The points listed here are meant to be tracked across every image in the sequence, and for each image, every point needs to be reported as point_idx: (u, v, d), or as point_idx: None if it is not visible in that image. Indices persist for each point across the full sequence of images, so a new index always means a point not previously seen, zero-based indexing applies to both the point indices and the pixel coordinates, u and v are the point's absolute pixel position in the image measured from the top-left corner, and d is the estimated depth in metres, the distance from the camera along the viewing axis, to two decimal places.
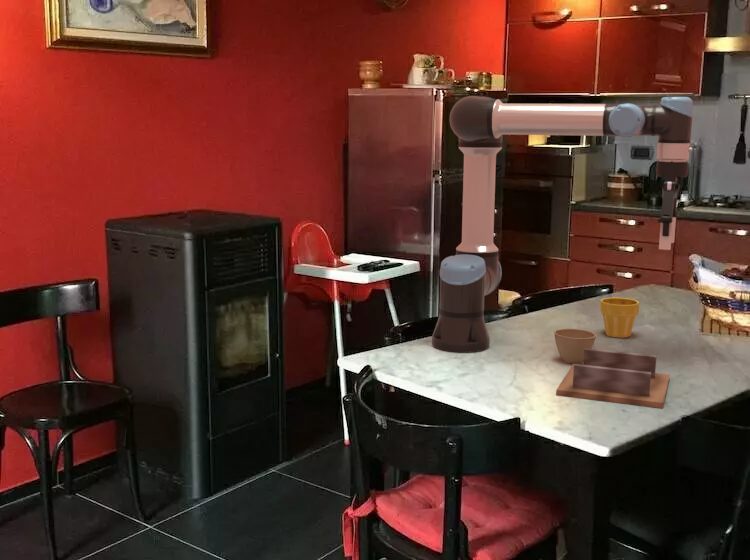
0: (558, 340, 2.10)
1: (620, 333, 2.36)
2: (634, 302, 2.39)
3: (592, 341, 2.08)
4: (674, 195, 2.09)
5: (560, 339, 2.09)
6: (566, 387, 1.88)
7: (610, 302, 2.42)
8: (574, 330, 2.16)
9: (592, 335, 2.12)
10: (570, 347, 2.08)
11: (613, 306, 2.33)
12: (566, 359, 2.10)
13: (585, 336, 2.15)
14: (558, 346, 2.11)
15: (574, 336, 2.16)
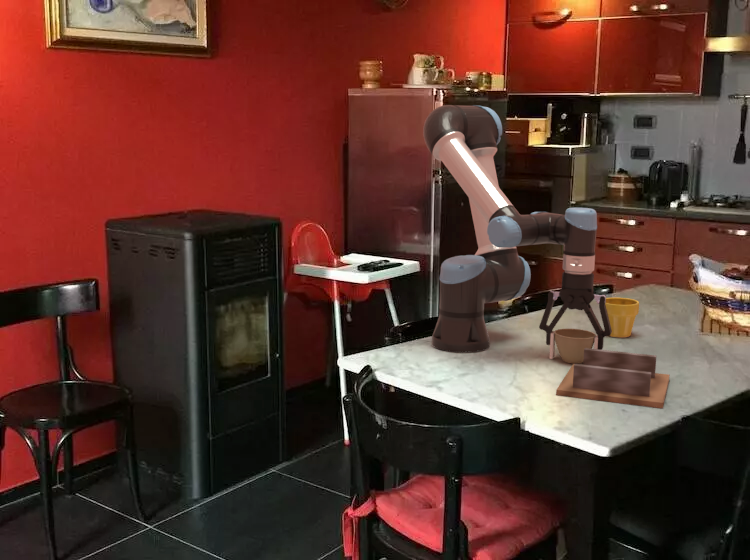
0: (558, 340, 2.10)
1: (620, 333, 2.36)
2: (634, 302, 2.39)
3: (592, 341, 2.08)
4: (562, 306, 2.10)
5: (560, 339, 2.09)
6: (566, 387, 1.88)
7: (610, 302, 2.42)
8: (574, 330, 2.16)
9: (592, 335, 2.12)
10: (570, 347, 2.08)
11: (613, 306, 2.33)
12: (566, 359, 2.10)
13: (585, 336, 2.14)
14: (558, 346, 2.11)
15: (574, 336, 2.16)
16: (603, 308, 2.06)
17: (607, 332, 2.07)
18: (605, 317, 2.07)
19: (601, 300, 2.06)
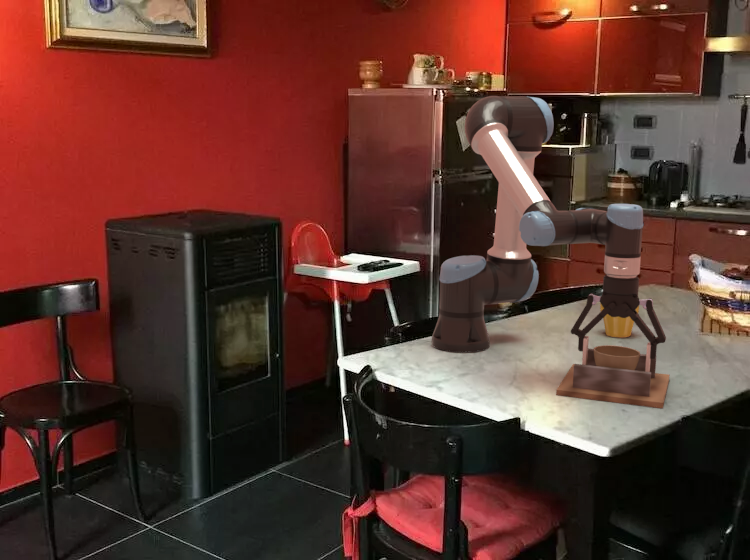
0: (598, 358, 1.89)
1: (620, 333, 2.36)
2: None
3: (636, 360, 1.87)
4: (601, 311, 1.89)
5: (601, 357, 1.88)
6: (566, 387, 1.88)
7: None
8: (615, 347, 1.95)
9: (636, 353, 1.91)
10: (613, 366, 1.87)
11: None
12: None
13: (627, 354, 1.94)
14: (598, 365, 1.90)
15: (615, 354, 1.95)
16: (652, 313, 1.85)
17: (661, 339, 1.85)
18: (656, 322, 1.85)
19: (648, 304, 1.85)
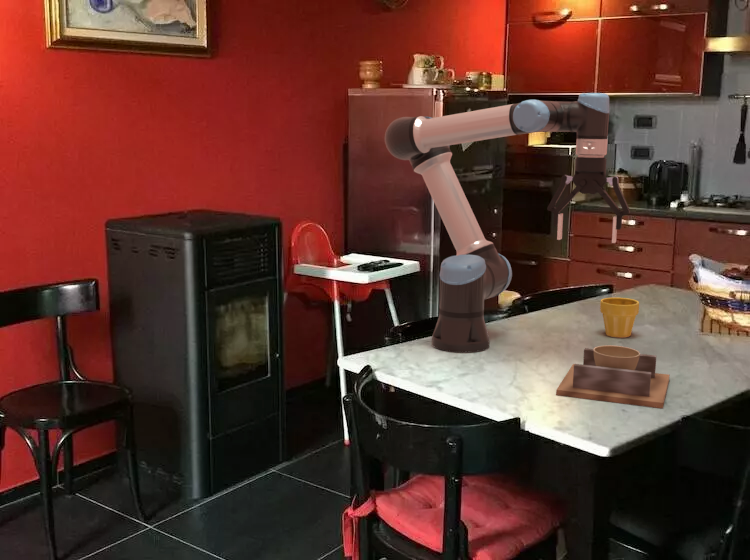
0: (598, 359, 1.89)
1: (620, 333, 2.36)
2: (634, 302, 2.39)
3: (636, 360, 1.87)
4: None
5: (600, 357, 1.88)
6: (566, 387, 1.88)
7: (610, 302, 2.42)
8: (615, 347, 1.95)
9: (635, 353, 1.91)
10: (612, 367, 1.87)
11: (613, 306, 2.33)
12: None
13: (627, 354, 1.94)
14: (598, 365, 1.90)
15: (615, 354, 1.95)
16: (617, 188, 2.11)
17: (625, 211, 2.11)
18: (621, 196, 2.11)
19: (614, 181, 2.11)
